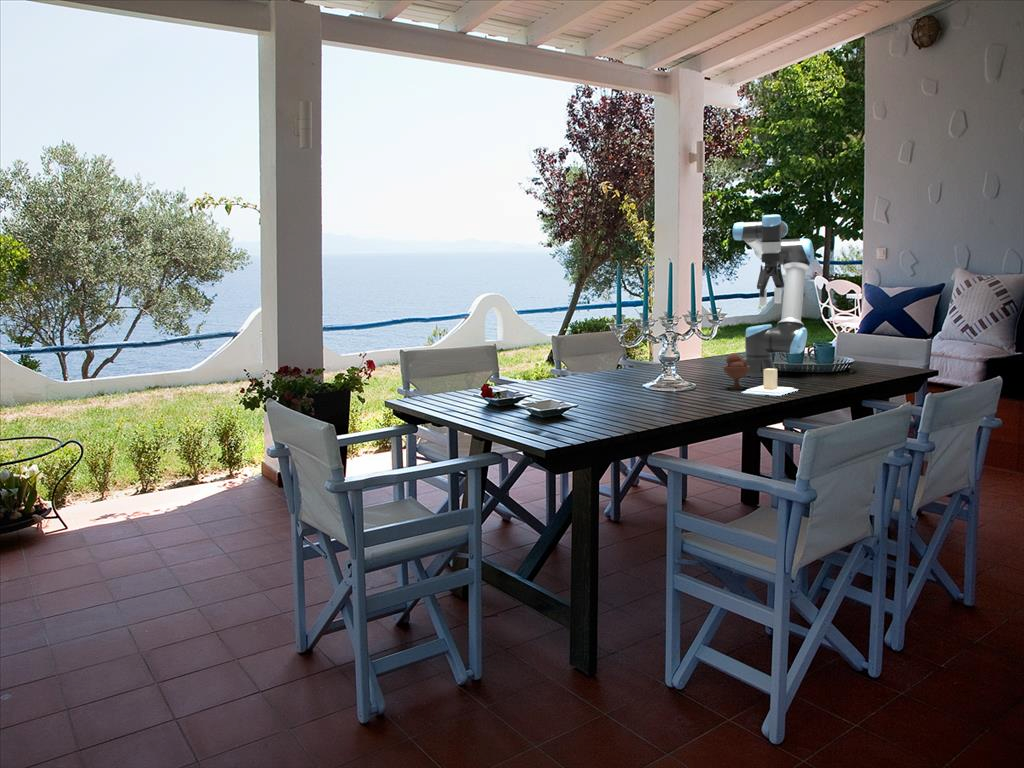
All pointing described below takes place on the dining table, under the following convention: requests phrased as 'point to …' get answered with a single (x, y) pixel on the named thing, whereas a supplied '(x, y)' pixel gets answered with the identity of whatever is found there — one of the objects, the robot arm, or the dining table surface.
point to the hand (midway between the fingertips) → (770, 304)
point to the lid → (770, 384)
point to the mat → (769, 394)
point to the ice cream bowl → (736, 369)
